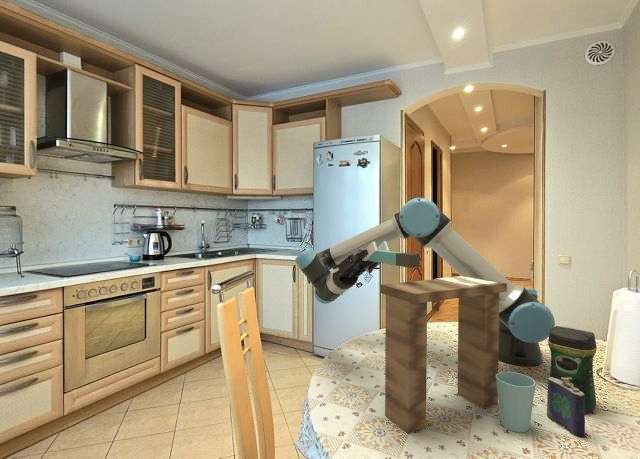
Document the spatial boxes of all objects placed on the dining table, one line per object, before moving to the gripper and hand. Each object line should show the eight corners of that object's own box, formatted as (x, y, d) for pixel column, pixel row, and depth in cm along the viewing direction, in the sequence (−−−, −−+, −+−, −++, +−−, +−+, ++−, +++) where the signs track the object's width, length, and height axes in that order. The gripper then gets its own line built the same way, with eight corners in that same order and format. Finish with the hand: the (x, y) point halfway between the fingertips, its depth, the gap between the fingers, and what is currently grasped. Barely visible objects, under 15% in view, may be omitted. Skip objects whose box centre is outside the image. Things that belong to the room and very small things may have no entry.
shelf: (465, 387, 98) (466, 275, 97) (505, 407, 87) (507, 282, 87) (379, 411, 86) (380, 283, 85) (414, 438, 75) (415, 292, 74)
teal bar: (367, 258, 106) (367, 248, 106) (419, 267, 86) (419, 254, 86) (358, 258, 104) (358, 248, 104) (409, 267, 85) (409, 254, 85)
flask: (544, 415, 84) (545, 369, 84) (555, 414, 85) (556, 368, 84) (577, 438, 75) (578, 387, 75) (590, 437, 75) (591, 386, 75)
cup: (543, 430, 78) (544, 382, 78) (518, 439, 75) (519, 389, 74) (511, 413, 85) (512, 369, 84) (488, 421, 82) (488, 375, 81)
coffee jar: (599, 406, 88) (601, 330, 88) (590, 417, 83) (592, 337, 82) (553, 392, 95) (555, 321, 95) (543, 401, 90) (544, 327, 90)
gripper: (366, 287, 118) (409, 257, 99) (322, 292, 110) (359, 260, 92) (360, 266, 121) (400, 233, 102) (317, 269, 114) (351, 234, 95)
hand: (380, 246), depth 97 cm, fingers closed on teal bar, 3 cm apart
